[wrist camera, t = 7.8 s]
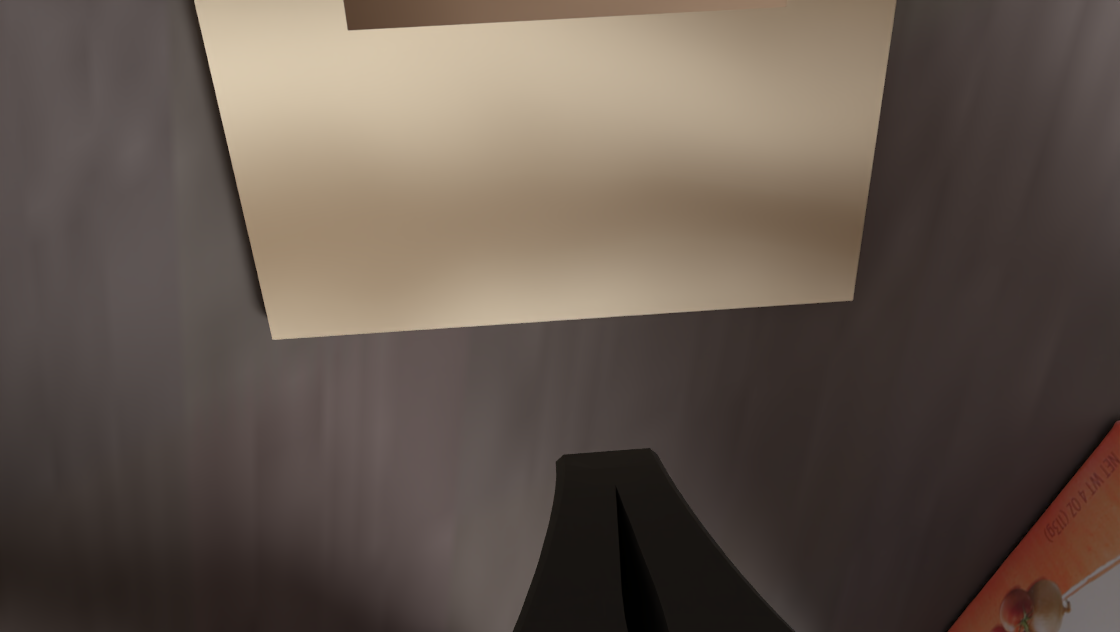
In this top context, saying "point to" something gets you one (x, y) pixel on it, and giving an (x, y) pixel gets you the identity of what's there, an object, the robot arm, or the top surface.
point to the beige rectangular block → (519, 10)
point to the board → (547, 161)
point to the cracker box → (1062, 560)
